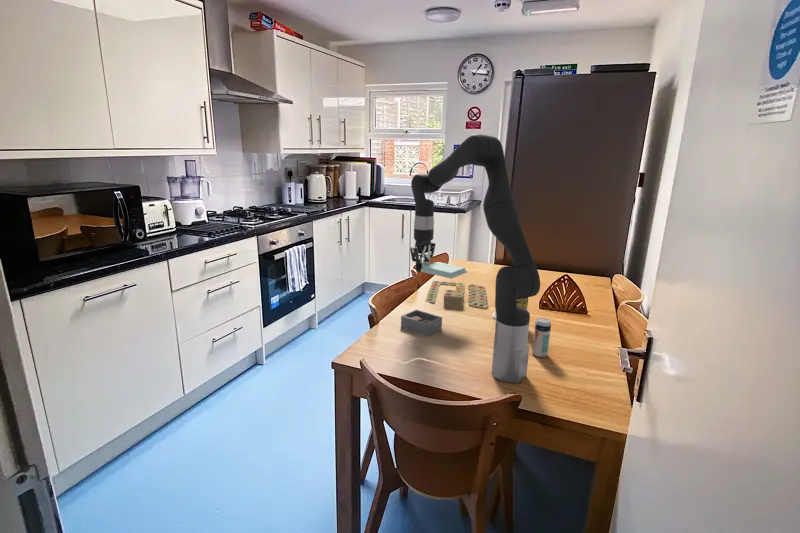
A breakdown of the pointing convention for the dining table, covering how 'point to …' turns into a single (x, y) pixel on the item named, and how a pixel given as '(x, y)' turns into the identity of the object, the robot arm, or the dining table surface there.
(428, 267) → the lid
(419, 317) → the walnut block
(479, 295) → the pile of dominoes
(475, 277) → the dining table surface
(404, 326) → the tub
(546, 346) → the beer can
